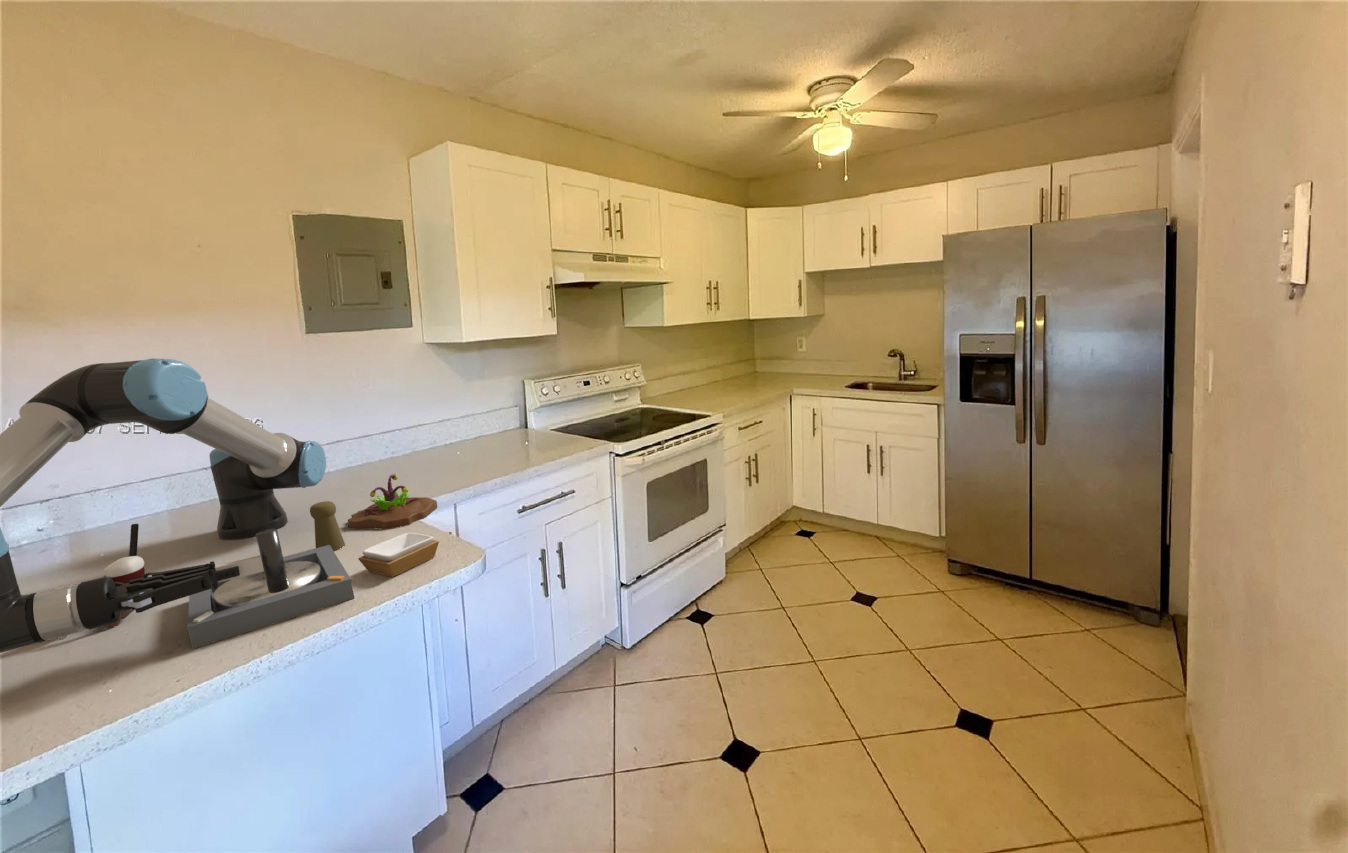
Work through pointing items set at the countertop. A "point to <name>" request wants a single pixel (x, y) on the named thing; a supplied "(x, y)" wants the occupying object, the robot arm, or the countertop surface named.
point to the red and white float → (127, 562)
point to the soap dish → (399, 554)
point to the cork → (326, 525)
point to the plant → (392, 509)
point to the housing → (269, 602)
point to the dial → (267, 576)
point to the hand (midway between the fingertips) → (262, 563)
